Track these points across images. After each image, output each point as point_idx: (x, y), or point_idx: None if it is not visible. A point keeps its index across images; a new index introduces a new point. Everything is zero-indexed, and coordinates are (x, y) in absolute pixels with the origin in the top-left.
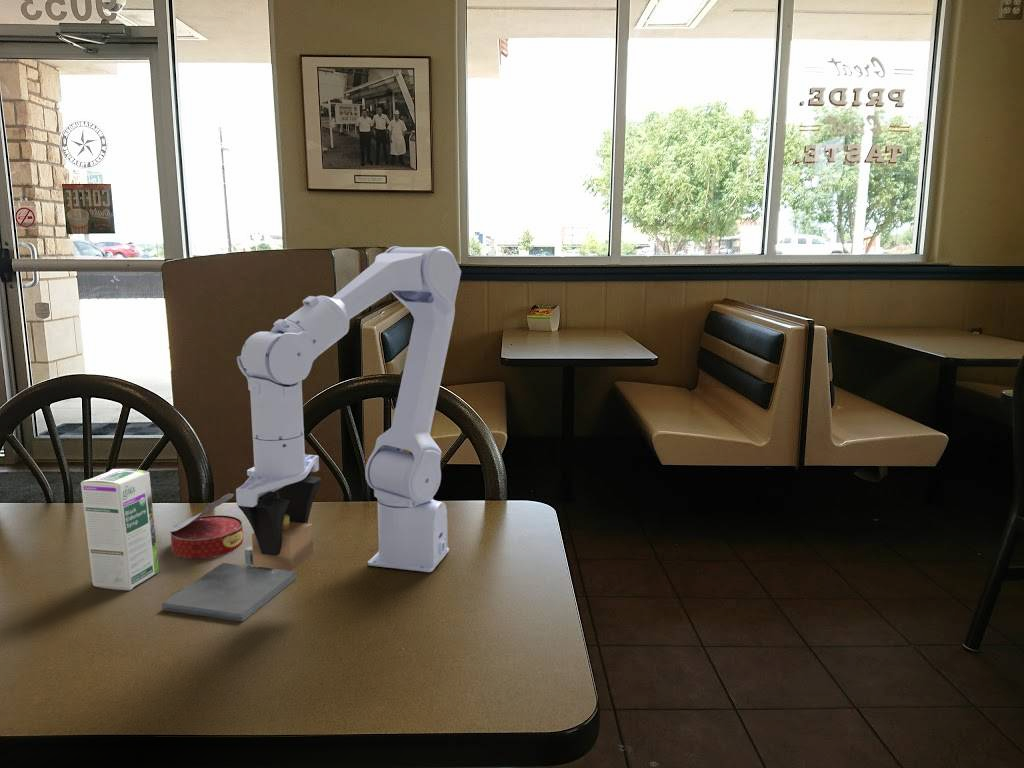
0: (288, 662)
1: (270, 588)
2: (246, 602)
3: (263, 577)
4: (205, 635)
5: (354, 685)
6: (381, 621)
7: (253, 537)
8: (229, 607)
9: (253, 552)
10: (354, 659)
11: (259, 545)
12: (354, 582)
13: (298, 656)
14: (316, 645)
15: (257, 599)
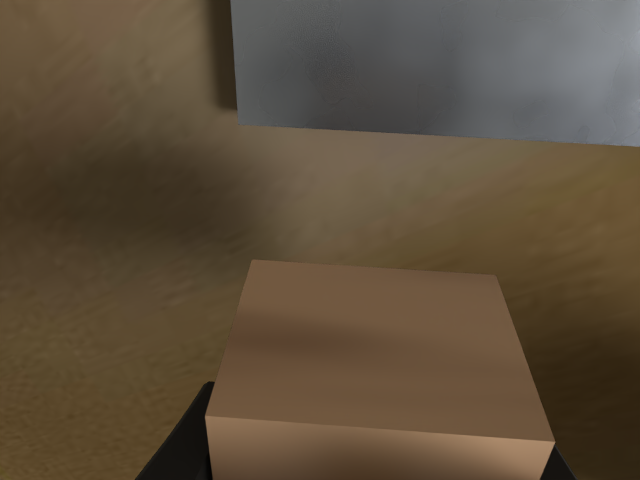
0: (103, 335)
1: (479, 122)
2: (332, 87)
3: (608, 24)
4: (110, 26)
5: (96, 462)
6: None
7: (214, 398)
8: (270, 37)
9: (238, 315)
10: None
11: (182, 421)
12: (610, 343)
13: (137, 346)
14: (199, 364)
15: (368, 119)
